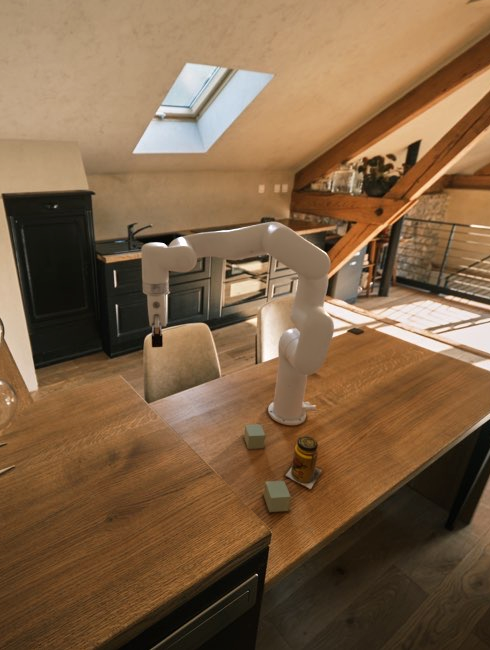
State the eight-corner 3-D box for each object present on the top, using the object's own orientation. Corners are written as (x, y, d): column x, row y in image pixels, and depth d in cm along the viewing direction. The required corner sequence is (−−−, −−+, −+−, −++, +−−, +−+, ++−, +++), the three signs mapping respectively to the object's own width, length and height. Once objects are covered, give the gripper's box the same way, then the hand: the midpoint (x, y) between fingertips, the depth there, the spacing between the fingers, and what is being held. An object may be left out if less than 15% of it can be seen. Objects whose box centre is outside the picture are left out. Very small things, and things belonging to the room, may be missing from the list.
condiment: (285, 476, 107) (290, 442, 102) (297, 458, 113) (303, 426, 108) (310, 489, 103) (316, 455, 98) (322, 471, 109) (328, 438, 104)
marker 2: (281, 494, 101) (284, 480, 99) (288, 511, 97) (290, 496, 95) (263, 495, 101) (265, 481, 99) (269, 512, 96) (271, 497, 94)
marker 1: (259, 436, 122) (260, 424, 120) (263, 448, 117) (265, 435, 115) (243, 437, 121) (245, 425, 119) (247, 449, 117) (249, 436, 115)
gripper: (170, 296, 102) (170, 352, 109) (167, 276, 118) (167, 326, 125) (142, 297, 102) (144, 353, 108) (143, 277, 117) (144, 327, 124)
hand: (156, 339), depth 116 cm, fingers open, 9 cm apart
